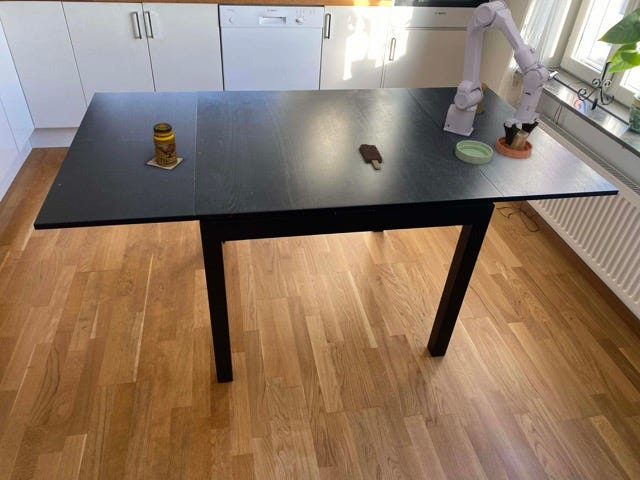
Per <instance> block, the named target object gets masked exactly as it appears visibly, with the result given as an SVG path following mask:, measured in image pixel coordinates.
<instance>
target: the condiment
mask: <svg viewBox="0 0 640 480" xmlns="http://www.w3.org/2000/svg"><path fill="white" fill-rule="evenodd" d="M152 128H153V129H152V130H153V136H152V138H153V144H154V151H155V156H154V157H153V158H152V159H151V160H149V161H148V162H146V165H150V166H154V167H158V168H163V169H165V170H172V169H174V168H175V167H176V166H177V165H178V164H179V163H181V162H182V161H183V160H184V158H182V157H178V153H177V145H176V137H175V133H174V131H173V127H172V125H171V124H170V123H168V122H159V123H157V124H155V125H153V127H152Z"/></svg>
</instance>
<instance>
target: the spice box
mask: <svg viewBox="0 0 640 480" xmlns="http://www.w3.org/2000/svg"><path fill="white" fill-rule="evenodd" d="M519 129H520V131H519V132H518V133H517V134H516V136H515V138H514V140H513V143H512V144H511V146H509V145H507V144H505V145H504V147H505V148H507V149H511V150H514V151H523V149H524V146H525V143H526V140H527V139H528V138H529V136H528V134H529V133H527V132H525V131H523V130H521V128H519ZM527 137H528V138H527ZM527 141H528V140H527Z"/></svg>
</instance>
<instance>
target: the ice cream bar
mask: <svg viewBox="0 0 640 480" xmlns="http://www.w3.org/2000/svg"><path fill="white" fill-rule="evenodd" d="M359 151H360V153H361V155H362V157H363V159H364V161H365V163H367V164H371V163H372V164H373V167H374V168H375V169H376V170H380V169H381V165H380V163H382V162H383V156H382V155H381V153H380V151H379V149H378V148H377V146H376V144H368V143H363V144H362V143H361V144H360V145H359Z"/></svg>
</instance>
